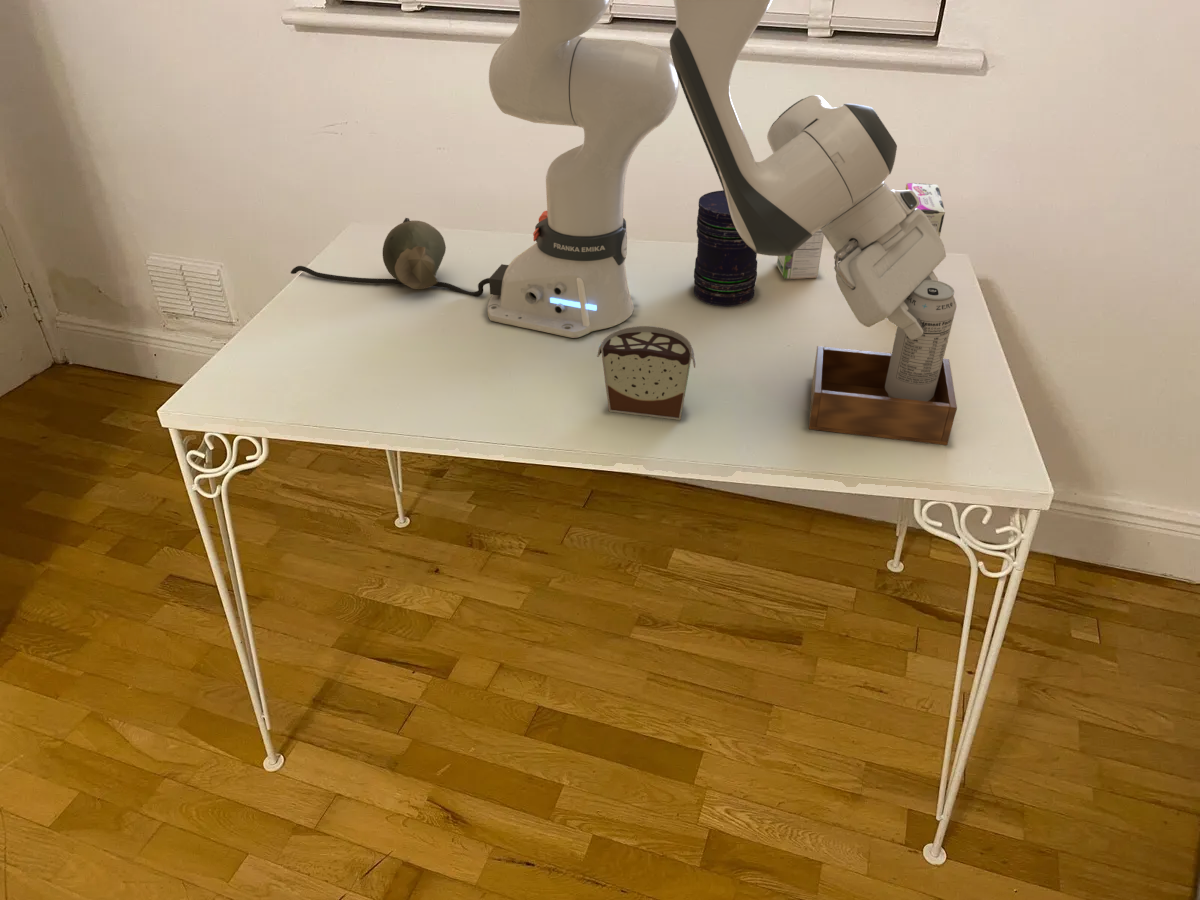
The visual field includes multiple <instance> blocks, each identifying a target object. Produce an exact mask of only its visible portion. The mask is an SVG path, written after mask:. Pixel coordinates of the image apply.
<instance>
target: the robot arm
mask: <svg viewBox="0 0 1200 900" xmlns="http://www.w3.org/2000/svg"><path fill="white" fill-rule="evenodd" d="M610 1H611V0H518V6H519V17H518V23H517V26H516V28H515V30H514V31H513V33H512V34H511V35H510V36H509V37H508V38H507V39H504V40H503V42H502V43H501V44H500V45H499V46H498V47H497V48H496V50H495V52H494V53H493V56H492V58H491V60H490V64H489V69H488V85H489V90H490V93H491V97H492V99H493V101H494V102H495V105H496V106H497V108H498V109H499V110H500V111H501V113H503V114H505V115H508V116H511V117H514V118H516V119H519V120H524V121H527V122H531V123H533V124H542V125H544V124H545V125H556V126H568V127H578V128H582V129H583V135H584V136H583V137H584V138H583V143H582V144H581V145H577V146H575V147H573V148H571V149H568V150H566V151H565V152H563V153H561V154H560V155H558V156H557V157H555V158H554V159H553V160H552V162H551V163H550V165H549V166H548V168H547V170H546V174H545V188H546V189H545V192H546V210H544V211H543V212H542V213H541V215H540V216H539V217H538V223H537V224H536V225H535V228H534V231H533V233H532V237H533V242H535V243H534V244H533V245H531V246H530V247H528V248H527V249H526V250H524V251H522V252H521V253H520V254H518V255H517V256H516V257H515V258H514V259H512V260H511V262H510V263H509V264H505V263H504V264H502V263H501V264H500V265H499V266H498V268H497V269H496V270H495V271H494V272H493V273H492V275H491V276H490V277H487V278H484V279H482V280H480V281H479V283H478V284H477V289H478V290H477V291H468V290H466V289H463V288H461V287H458V286H456V285H454V284H452V283H449V282H445V281H438V280H437V282H438V283H437V284H435V285H433V286H432V287H437V288H443V289H444V288H445V289H448V290H451V291H454V292H456V293H459V294H462V295H467V296H471V297H480V296H482V295H483V294H484V286H485V285H487V284H488V285H489V294H490V295H491V296H490V298H489V300H488V303H487V311H486V313H487V317H488V319H489V320H490V321H492V322H496V323H500V324H504V325H508V326H513V327H519V328H523V329H528V330H533V331H539V332H541V333H542V332H543V333H547V334H553V335H557V336H561V337H566V338H572V339H577V338H581V337H583V336H584V337H585V336H586V335H588V334H591V333H592V332H595V331H600V330H606V329H609V328H613V327H616V326H618V325H620V324H623V323H624V322H626V321H627V320H628V319H629V318H630V317H631V316H632V314H633V313H634V308H635V307H634V303H633V299H632V297H631V293H630V288H629V284H628V278H627V271H626V258H627V254H628V231H627V220H626V219H625V217H624V208H625V207H624V206H625V205H624V202H625V189H626V188H625V187H626V178H627V177H626V176H627V171H628V167H629V165H630V161H631V159H632V156H633V154H634V152H635V151H636V150H637V148H638V146H639V145H640V144H641V142H642V141H643V140H644V139H645V138H646V137H647V136H648V135H649V134H650V133H651V132H653V131H654V130H656V129H657V128H659V127H660V126H661V125H662V124H663V123H664V122H666V120H667V119H668V118H669V117H670V115H671V114H672V112H673V110H674V109H675V106H676V104H677V101H678V97H679V90H680V86H681V89H682V91H683V94H684V96H685V99H686V101H687V104H688V107H689V109H690V111H691V113H692V117H693V119H694V121H695V125H696V126H697V128H698V131H699V133H700V136H701V138H702V140H703V143H704V145H705V148H706V151H707V152H708V155H709V158H710V161H711V162H712V165H713V167H714V169H715V172H716V174H717V176H718V179H719V182H720V185H721V187H722V190H724V193H725V196H726V198H727V202H728V207H729V211H730V215H731V218H732V221H733V224H734V226H735V228H736V230H737V232H738V233H739V235H740V237H741V238H742V239H743V241H744V242H745V243H746V244H747V245H748V246H749V247H750V248H751V249H753V251H754V252H755V253H757V255H763V256H769V257H778V256H788V255H791V254H792V253H793V252H794V251H795V250H797V249H798V248H799V247H800V246H801V245H802V244H804V243H805V242H806V241H807V240H808V239H810V238H811V237H812V234H814V233H815V232H816V231H818V230H819V229H820V230H821V231H822V233H823V234H824V237H825V239H826V240H827V242H828V243H829V245H830V246H831V247H832V249H833V251H834V252H835V253H834V255H833V259H834V266H833V269H834V271H835V280H836V284H837V285H838V288H839V290H840V292H841V293H842V296H843V297H844V300H845V301H846V303H847V304H848V307H849V308H850V310H851V311H852V313H853V315H854V316H855V319H856V320H857V321H858V322H859V323H860V324H862V325H863V326H865V327H866V328H870V327H873V326H874V325H876V324H878V323H881V322H882V321H883V320H885V319H888V321H889V322H890V323H892V324H893V325H895V326H896V327H897V326H898V327H899V328H901V329H903V330H904V332H905V333H906V335H907V336H908V338H909V339H911V340H914V339H916V338H918V337H920V336H922V335H923V333H924V332H925V331H926V326H925V325H924V324H923V322H922V321H921V320H920V318H918V319H916V318H914V317H913V316H912V315H911V314H910V313H909V312H908V311H907V310H908V307H907V305H906V303H905V302H904V300H905V299H906V298H907V297H908V296H909V295H910V294H911V293H912V292H913V291H914V290H915V289H916V288H917V287H918V286H919V285H920V284H921V283H922V281H923V280H935V281H939V279H938V277H937V274H936V273H935V272H934V271H935V269H936V268H937V267H938V266H939V265H941V263H942V262H943V261H944V260H945V259H946V257H947V254H946V248H945V245H944V242H943V241H942V239H941V236H940V237H939V235H938V233H937V232H936V230H935V228H934V227H933V225H932V224H931V222H930V221H929V219H928V218H927V216H926V215H925V214H924V212H923V211H921V210H920V209H917V208H916V207H918V205H919V203H920V202H919V199H918V197H917V196H916V194H915V193H914V192H913V191H912V190H905V189H903V190H900V189H899V190H898V189H891V188H889V186H888V184H887V182H886V181H885V180H886V179H887V178H888V177H889V175H891V174H892V171H893V168H894V165H895V162H896V158H897V157H896V156H897V150H898V145H897V142H896V141H895V138H893V137H892V135H891V133H890V131H889V130H888V129H887V127H886V126H885V124H884V122H883V121H882V120H881V118H880V117H879V114H878V113H877V111H875V109H874V107H872V106H868V105H863V104H859V103H858V104H857V103H843V104H842V105H840V106H837V107H832V106H831V105H830V104H829V103H828V102H827V100H825V99H824V97H822V96H821V95H818V94H815V95H809V96H807V97H804V98H801V99H800V100H798V101H796V102H795V103H793V104H792V105H790V106H789V107H788V108H786V109H785V110H784V111H783V112H782V113H780V115H779V116H778V117H777V119H776V120H775V121H774V122H773V123H772V124H771V125H770V127H769V129H768V132H767V135H766V139H767V142H768V144H769V147H770V149H771V152H772V154H770V155H769V156H768V157H767V158H765V159H763V160H761V161H756V160H755V157H754V154H753V152H752V149H751V147H750V144H749V141H748V140H747V137H746V135H745V132H744V129H743V126H742V125H741V122H740V119H739V116H738V114H737V111H736V109H735V106H734V103H733V100H732V97H731V80H732V75H733V70H734V68H735V65H736V63H737V62H738V59H739V57H740V55H741V53H742V52H743V49H744V48H745V46H746V44H747V43H748V41H749V40H750V38H751V36H752V35H753V33H754V32H755V30H756V29H757V27H758V26H759V25H760V23H761V21H762V20H763V18H764V17H765V15H766V14H767V12H768V10H769V8H770V6H771V4H772V2H773V0H673V5H674V10H675V11H674V13H675V28H674V30H673V32H672V34H671V37H670V39H669V49H670V50H669V51H670V54H671V55H670V54H669V52H667V51H666V50H665V49H663V48H660V47H656V46H653V45H650V44H647V43H644V42H643V43H642V42H639V41H634V40H627V39H626V40H625V39H624V40H623V39H611V38H610V39H607V38H591V37H590V38H589V37H585V36H582V35H583V34H585V33H587V32H588V31H589V30H591V29H592V28H593V27H594V26H595V25H597V23H598V22H600V20H601V19H602V18H603V17H604V15H605V14H606V12H607V10H608V8H609V6H610ZM299 272H304V273H306V274H308V275H310V276H312V277H316V278H319V279H324V280H331V281H337V282H344V283H345V282H347V283H357V284H379V285H404V284H403V283H401V282H400V281H398V280H397V279H395V278H378V277H377V278H376V277H375V278H373V277H358V276H357V277H356V276H345V275H337V274H330V273H323V272H318V271H315V270H314V269H311V268H309V267H307V266H303V265H296V266H295V267H293V268H292V270H290V274H291V275H295V274H297V273H299Z"/></svg>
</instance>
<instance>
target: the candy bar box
mask: <svg viewBox="0 0 1200 900" xmlns="http://www.w3.org/2000/svg"><path fill="white" fill-rule="evenodd" d="M904 190H912V191H913V192H914V193H915V194H916V196H917V197H918V199H919V202H920V203H919V205H918V207H916V208H917V209H920V210H921V211H923V212H924V214H925V215H926V216H927V218H928V219H929V221H930V222H931V224H932V225H933V227H934V228H935V230H936V232H937V233H938V235H939V237H940V238H941V234H942V226H943V224H944V219H945V216H946V215H945V214H946V211H945V207H944V202H943V197H942V194H941V190H940V186H939V184H936V183H935V184H933V183H932V184H931V183H920V182H919V183H916V182H906V184H905V189H904Z"/></svg>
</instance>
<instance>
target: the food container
mask: <svg viewBox="0 0 1200 900" xmlns="http://www.w3.org/2000/svg"><path fill="white" fill-rule="evenodd" d="M600 356H601V360H602V369H603V376H604V383H605V390H606V391H605V392H606V398H607V408H608V412H610V413H616V414H626V415H633V416H634V415H635V416H642V417H651V418H659V419H665V420H666V419H669V420H676V421H681V419H682V413H683V407H684V402H685V397H686V392H687V391H686V390H687V386H688V379H689V376H690V375H689V374H690V369H691V364H693V368H694V369H696V365H697V363H696V358H695V351H694V349H693V347H692V344H691V342H690V341H689V340H688V338H686V336H684V335H682V334H681V333H679V332H677V331H675V330H672V329H669V328H666V327H660V326H652V325H641V326H640V325H638V326H630V327H629V326H628V327H625V328H621V329H618V330H616V331H613V332H611V333H609V334H607V336H605V337H604V338H603V339H602V341H601V342H600V345H599V347H598V351H597V355H596V358H599V357H600ZM691 362H692V363H691Z"/></svg>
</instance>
